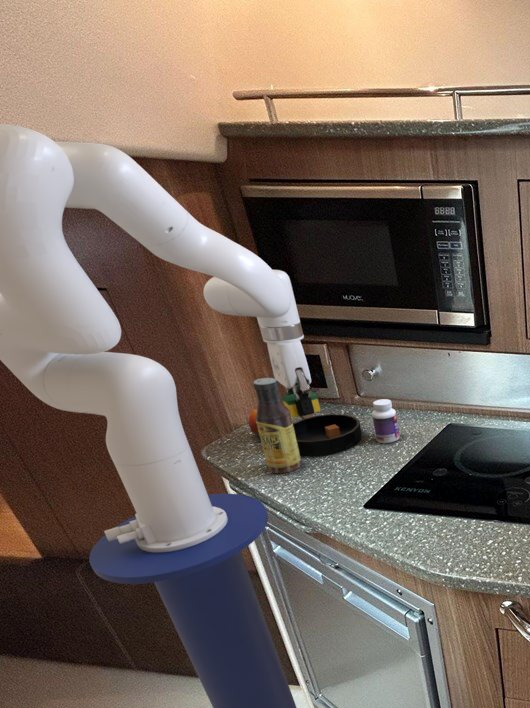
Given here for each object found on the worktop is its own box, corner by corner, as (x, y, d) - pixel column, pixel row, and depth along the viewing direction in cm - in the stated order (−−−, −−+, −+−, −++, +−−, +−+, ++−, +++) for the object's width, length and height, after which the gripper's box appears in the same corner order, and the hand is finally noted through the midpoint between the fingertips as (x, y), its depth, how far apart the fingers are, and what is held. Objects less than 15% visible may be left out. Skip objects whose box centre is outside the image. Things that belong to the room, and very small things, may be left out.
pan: (301, 463, 110) (297, 448, 108) (269, 432, 123) (265, 418, 121) (373, 442, 120) (370, 428, 118) (336, 415, 133) (334, 402, 132)
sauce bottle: (262, 471, 106) (235, 382, 97) (287, 459, 111) (264, 373, 102) (285, 477, 104) (260, 387, 95) (310, 464, 109) (288, 378, 100)
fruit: (235, 433, 118) (246, 401, 118) (269, 439, 125) (279, 409, 125) (254, 442, 115) (264, 409, 115) (287, 447, 122) (298, 416, 122)
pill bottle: (402, 440, 121) (396, 403, 117) (379, 445, 119) (372, 407, 114) (396, 432, 125) (390, 396, 121) (374, 437, 123) (367, 400, 118)
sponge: (292, 418, 111) (287, 401, 109) (286, 412, 113) (281, 396, 111) (320, 411, 115) (316, 394, 113) (314, 406, 117) (310, 390, 115)
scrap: (330, 439, 119) (328, 429, 118) (326, 435, 121) (324, 426, 119) (341, 436, 121) (339, 427, 120) (337, 433, 122) (335, 424, 121)
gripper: (250, 327, 108) (272, 405, 116) (275, 343, 98) (298, 427, 106) (288, 322, 113) (307, 397, 121) (315, 337, 103) (334, 418, 111)
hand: (302, 410), depth 114 cm, fingers closed on sponge, 4 cm apart
